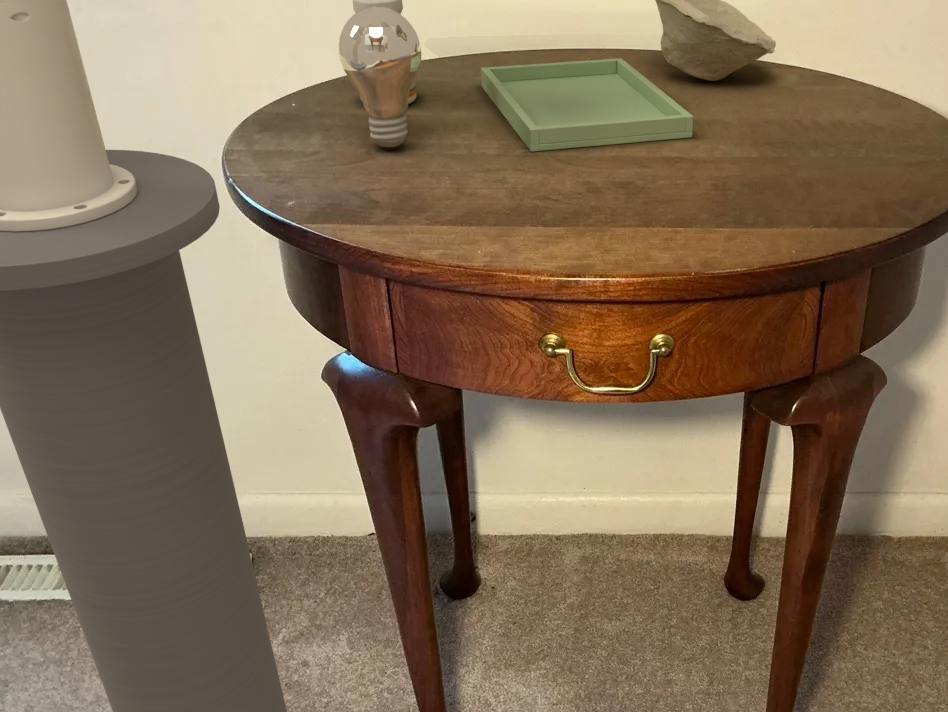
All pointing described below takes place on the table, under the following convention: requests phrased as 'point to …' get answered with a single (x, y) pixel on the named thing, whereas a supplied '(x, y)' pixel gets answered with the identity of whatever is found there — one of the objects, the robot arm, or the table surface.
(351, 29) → the light bulb
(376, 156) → the table surface
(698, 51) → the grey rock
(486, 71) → the tray
